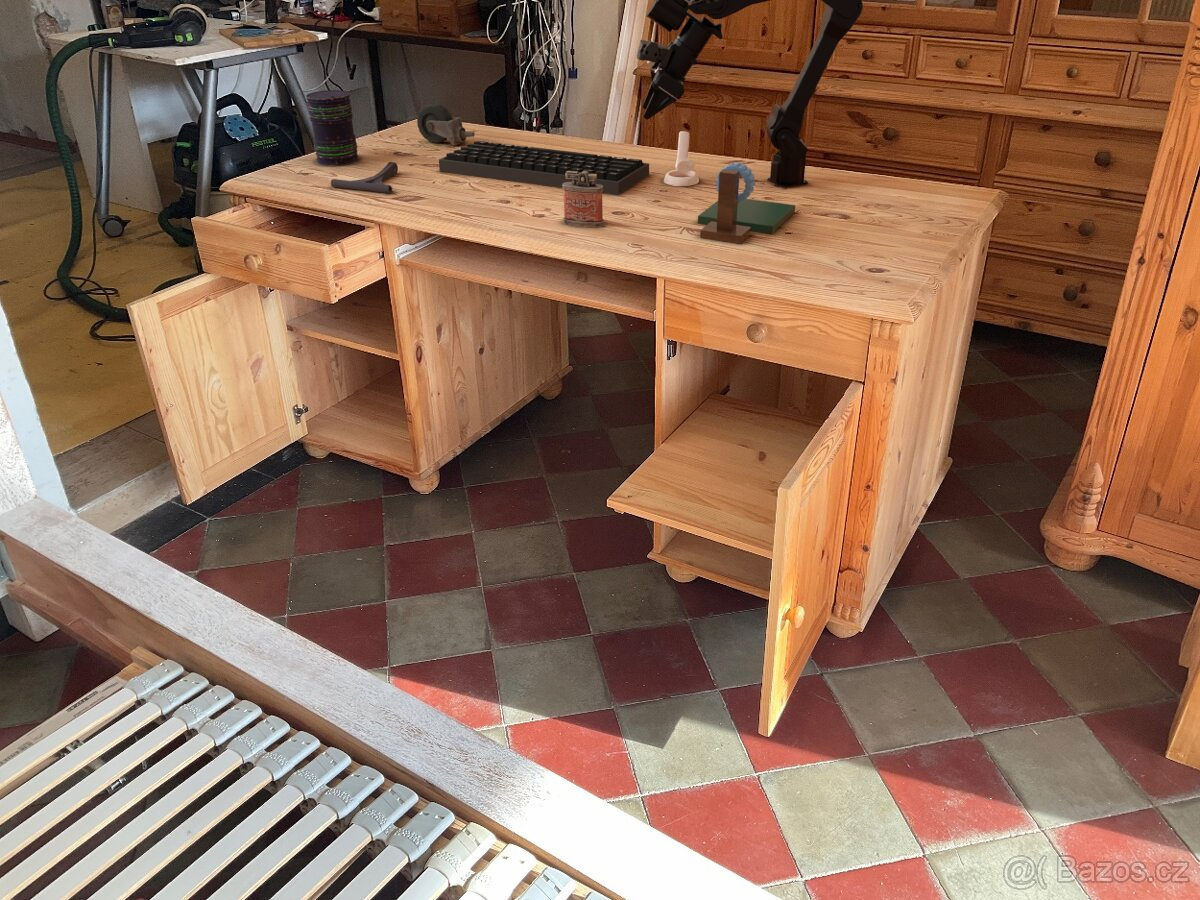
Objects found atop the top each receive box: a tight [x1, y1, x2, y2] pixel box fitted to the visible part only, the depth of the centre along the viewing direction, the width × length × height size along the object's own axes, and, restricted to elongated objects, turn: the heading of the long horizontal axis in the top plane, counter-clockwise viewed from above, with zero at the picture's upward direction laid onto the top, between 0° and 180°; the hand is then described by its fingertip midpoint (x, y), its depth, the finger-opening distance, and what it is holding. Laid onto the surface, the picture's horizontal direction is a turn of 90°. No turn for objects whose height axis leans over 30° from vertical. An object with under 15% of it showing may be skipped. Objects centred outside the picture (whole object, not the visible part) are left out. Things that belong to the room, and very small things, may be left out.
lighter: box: [561, 171, 605, 228], centre depth 186 cm, size 8×3×10 cm, turn 71°
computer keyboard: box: [438, 140, 650, 196], centre depth 217 cm, size 45×16×4 cm, turn 64°
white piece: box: [663, 130, 700, 187], centre depth 212 cm, size 8×12×7 cm
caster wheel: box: [416, 103, 476, 147], centre depth 240 cm, size 6×10×15 cm
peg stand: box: [699, 168, 752, 245], centre depth 180 cm, size 10×8×12 cm
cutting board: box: [697, 198, 796, 235], centre depth 190 cm, size 14×15×2 cm
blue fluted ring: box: [714, 162, 756, 203], centre depth 179 cm, size 2×7×7 cm, turn 63°
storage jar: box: [305, 89, 359, 167], centre depth 227 cm, size 10×10×15 cm
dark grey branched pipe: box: [330, 161, 399, 194], centre depth 214 cm, size 14×15×3 cm
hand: (644, 113), depth 203 cm, fingers open, 9 cm apart
